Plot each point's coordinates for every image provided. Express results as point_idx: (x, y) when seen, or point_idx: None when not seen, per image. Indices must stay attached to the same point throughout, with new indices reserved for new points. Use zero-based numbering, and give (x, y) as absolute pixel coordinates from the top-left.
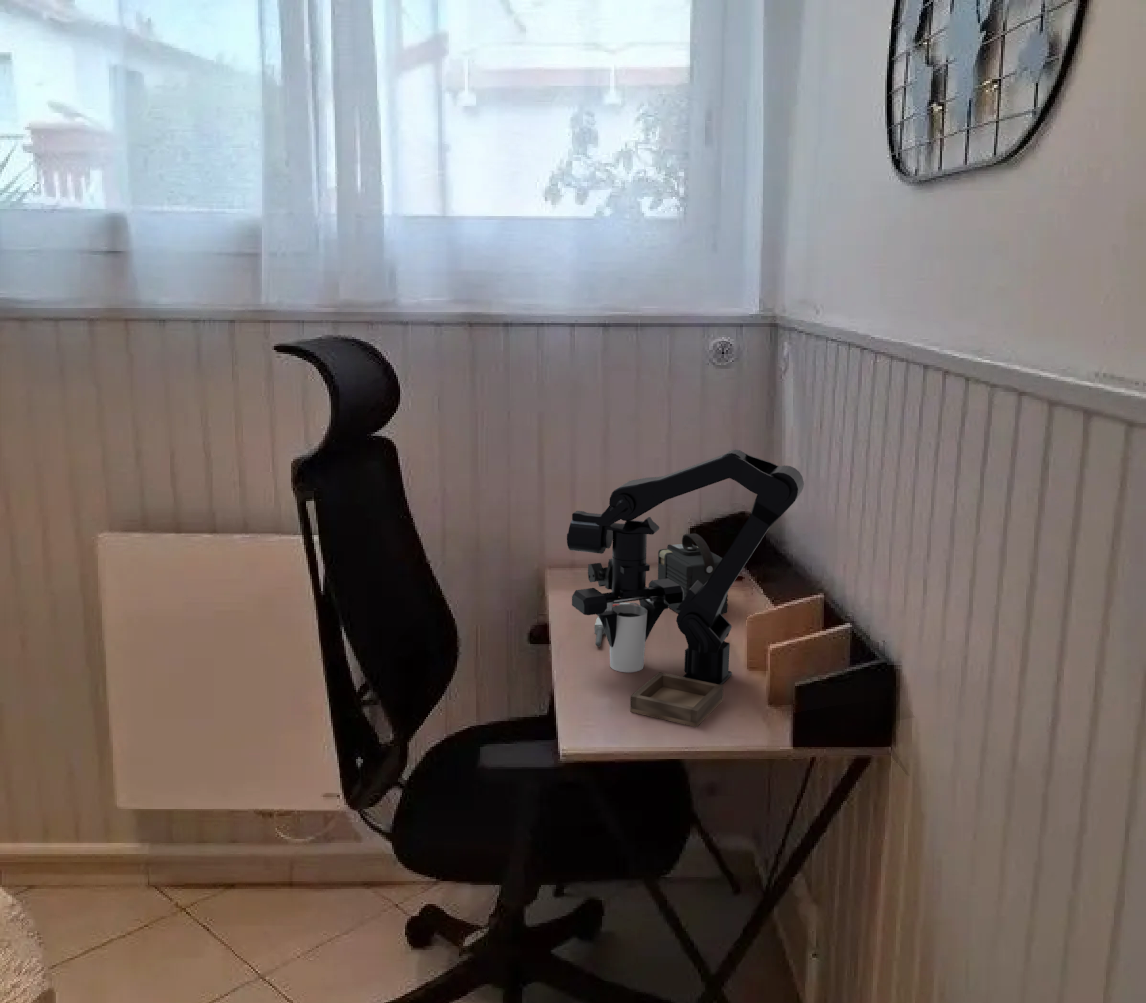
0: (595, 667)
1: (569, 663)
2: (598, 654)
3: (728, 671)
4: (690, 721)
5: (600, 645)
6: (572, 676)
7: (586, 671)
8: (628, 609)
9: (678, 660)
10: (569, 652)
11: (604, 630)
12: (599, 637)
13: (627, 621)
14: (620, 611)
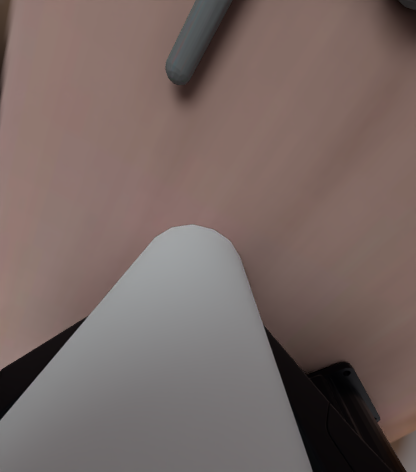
0: (99, 237)
1: (24, 167)
2: (155, 139)
3: (375, 417)
4: None
5: (186, 82)
6: (12, 261)
7: (62, 250)
8: (244, 457)
9: (349, 304)
10: (50, 54)
11: (27, 355)
12: (211, 5)
13: None
14: (155, 405)
